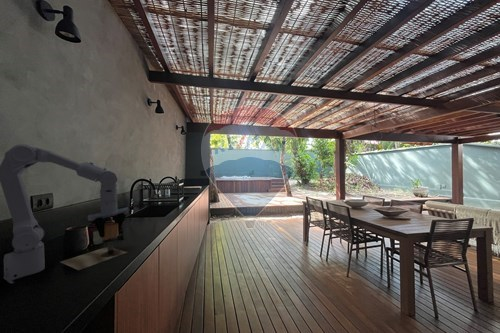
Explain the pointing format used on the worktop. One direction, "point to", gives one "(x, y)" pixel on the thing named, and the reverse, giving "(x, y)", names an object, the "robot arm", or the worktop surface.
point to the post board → (93, 257)
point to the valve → (99, 240)
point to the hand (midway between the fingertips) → (110, 234)
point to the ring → (110, 230)
